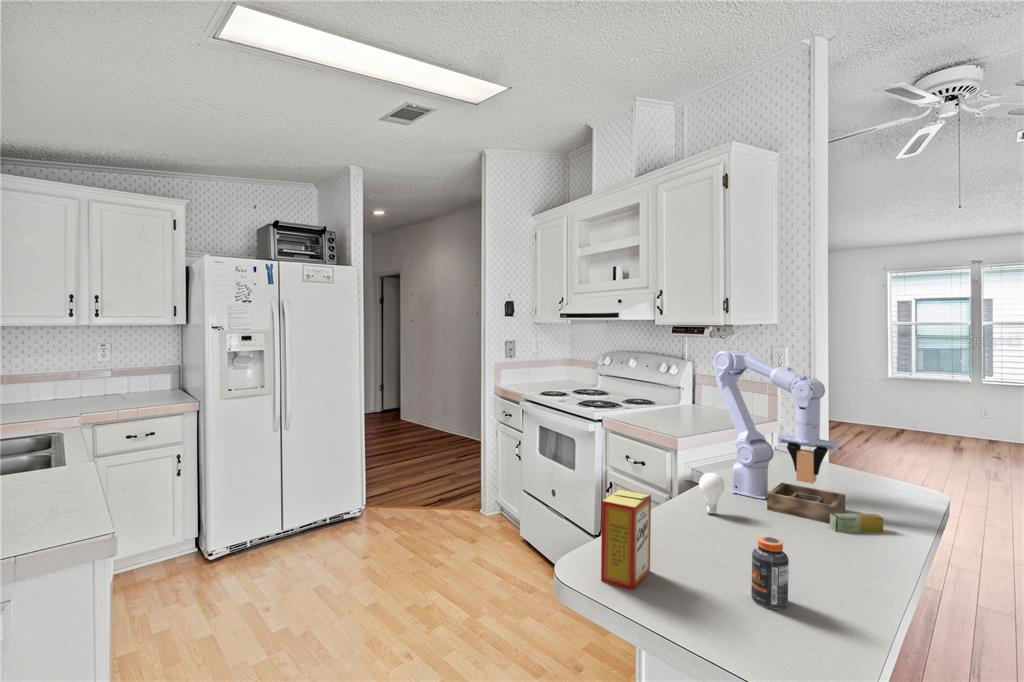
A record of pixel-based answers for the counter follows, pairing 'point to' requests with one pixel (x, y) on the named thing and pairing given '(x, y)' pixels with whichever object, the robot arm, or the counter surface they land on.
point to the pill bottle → (770, 573)
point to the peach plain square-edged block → (805, 466)
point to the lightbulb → (711, 490)
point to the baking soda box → (625, 538)
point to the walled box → (805, 502)
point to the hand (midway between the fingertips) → (806, 472)
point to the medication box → (856, 522)
